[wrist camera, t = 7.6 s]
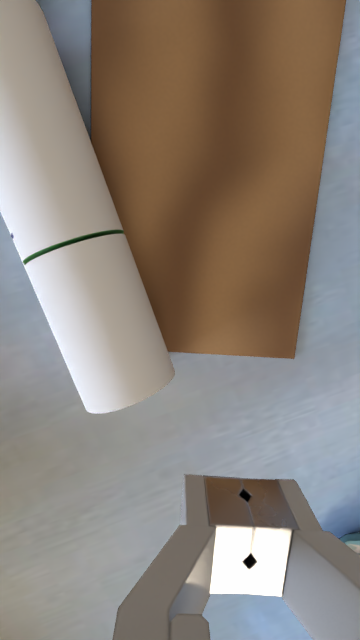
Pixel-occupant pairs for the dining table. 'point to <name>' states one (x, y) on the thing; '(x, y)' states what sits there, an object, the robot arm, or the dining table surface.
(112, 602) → the dining table surface
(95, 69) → the brown flat board
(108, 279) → the cylindrical container
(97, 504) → the dining table surface
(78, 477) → the dining table surface
